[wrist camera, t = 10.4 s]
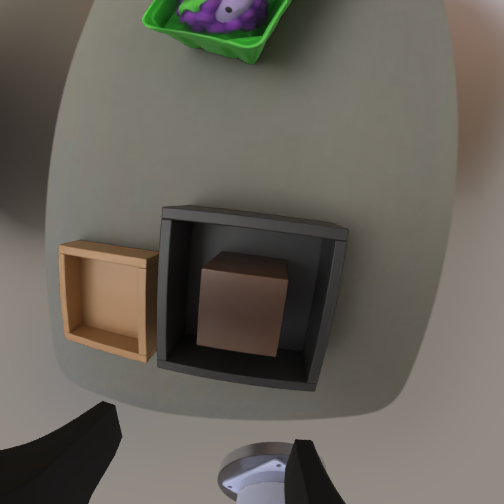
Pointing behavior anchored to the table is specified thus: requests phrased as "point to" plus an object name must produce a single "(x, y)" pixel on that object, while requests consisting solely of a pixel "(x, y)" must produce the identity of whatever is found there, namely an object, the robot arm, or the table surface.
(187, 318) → the black basket
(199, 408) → the table surface
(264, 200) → the table surface
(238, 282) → the walnut block
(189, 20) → the fruit basket
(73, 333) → the kraft box
